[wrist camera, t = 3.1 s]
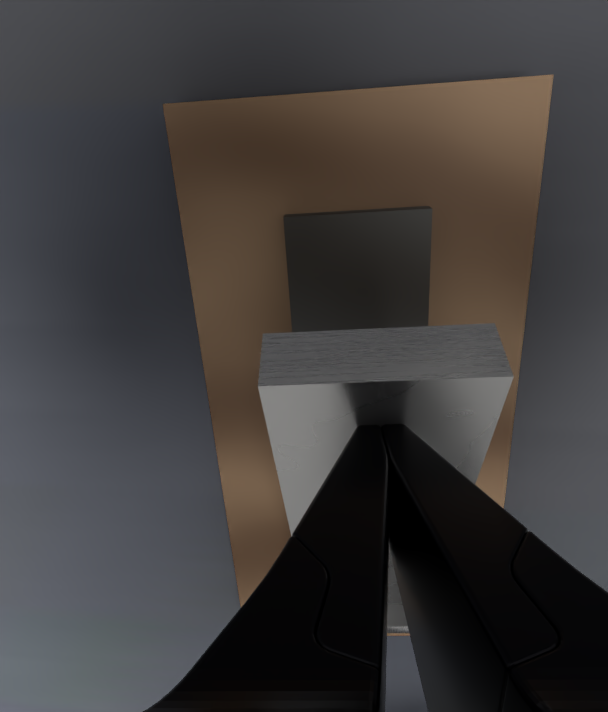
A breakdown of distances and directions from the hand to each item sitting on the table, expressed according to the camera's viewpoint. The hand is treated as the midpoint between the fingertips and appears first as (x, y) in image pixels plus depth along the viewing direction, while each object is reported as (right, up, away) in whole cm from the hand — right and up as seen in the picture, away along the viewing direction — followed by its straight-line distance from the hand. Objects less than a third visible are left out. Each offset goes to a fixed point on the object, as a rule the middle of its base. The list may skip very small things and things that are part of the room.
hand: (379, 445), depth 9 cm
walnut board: (+1, 0, +9) cm, 9 cm away
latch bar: (0, -3, +5) cm, 6 cm away
